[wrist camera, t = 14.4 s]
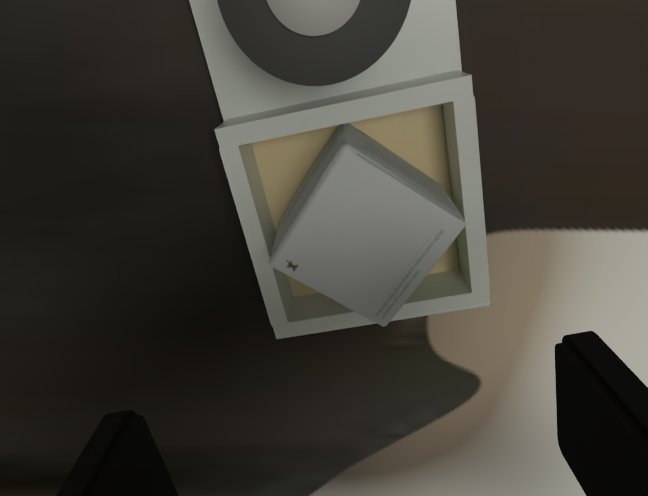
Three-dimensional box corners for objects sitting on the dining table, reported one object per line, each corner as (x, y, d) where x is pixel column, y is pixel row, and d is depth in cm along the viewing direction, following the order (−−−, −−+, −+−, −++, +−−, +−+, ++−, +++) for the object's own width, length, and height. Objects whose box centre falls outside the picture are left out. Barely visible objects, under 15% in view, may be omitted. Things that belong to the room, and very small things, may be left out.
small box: (376, 277, 24) (384, 333, 20) (277, 220, 23) (261, 265, 19) (447, 184, 22) (474, 223, 18) (341, 116, 21) (341, 139, 17)
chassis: (475, 269, 25) (494, 304, 22) (280, 302, 26) (272, 340, 23) (435, -157, 18) (455, -197, 15) (171, -86, 19) (137, -109, 16)
